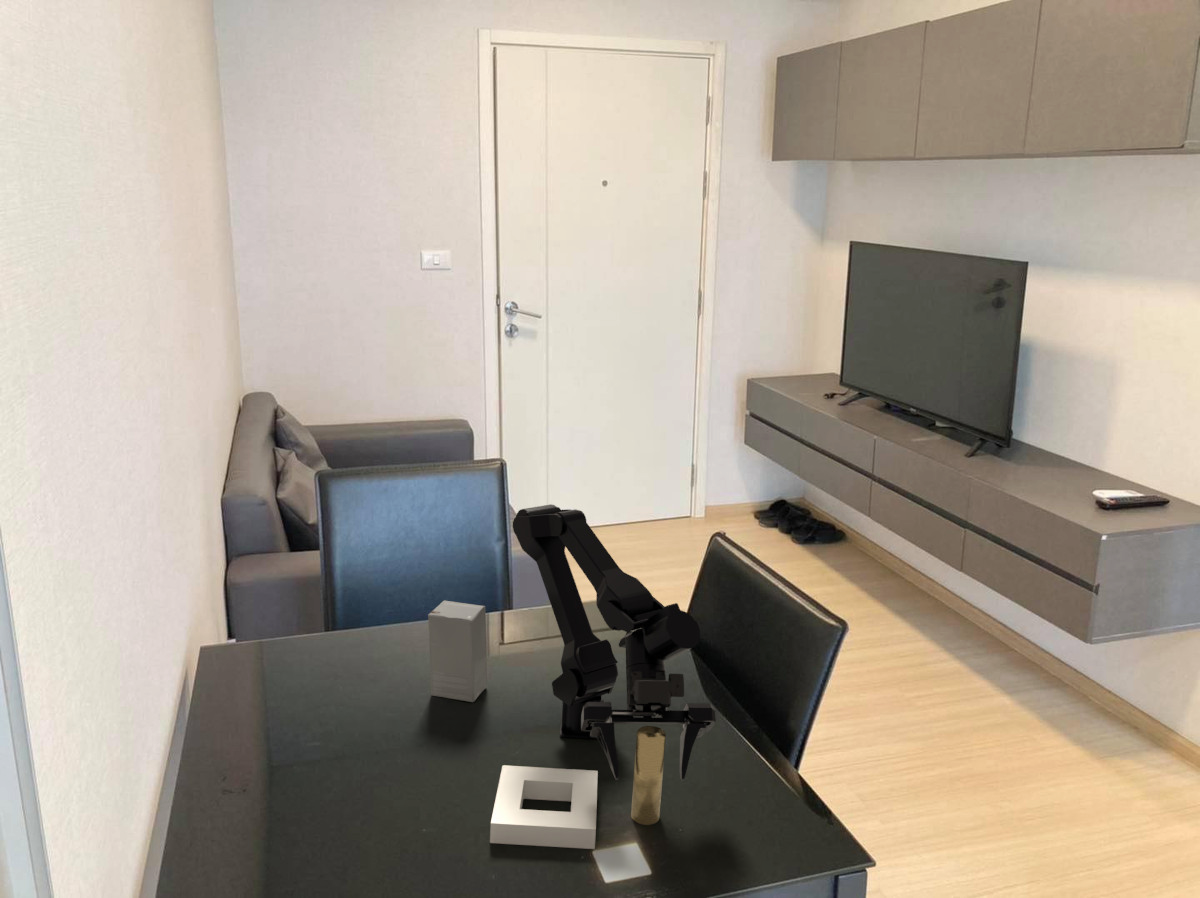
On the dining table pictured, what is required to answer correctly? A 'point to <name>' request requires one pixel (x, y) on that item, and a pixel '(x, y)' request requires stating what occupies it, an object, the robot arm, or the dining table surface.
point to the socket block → (538, 824)
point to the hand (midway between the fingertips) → (649, 779)
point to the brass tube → (648, 775)
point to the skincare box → (458, 650)
